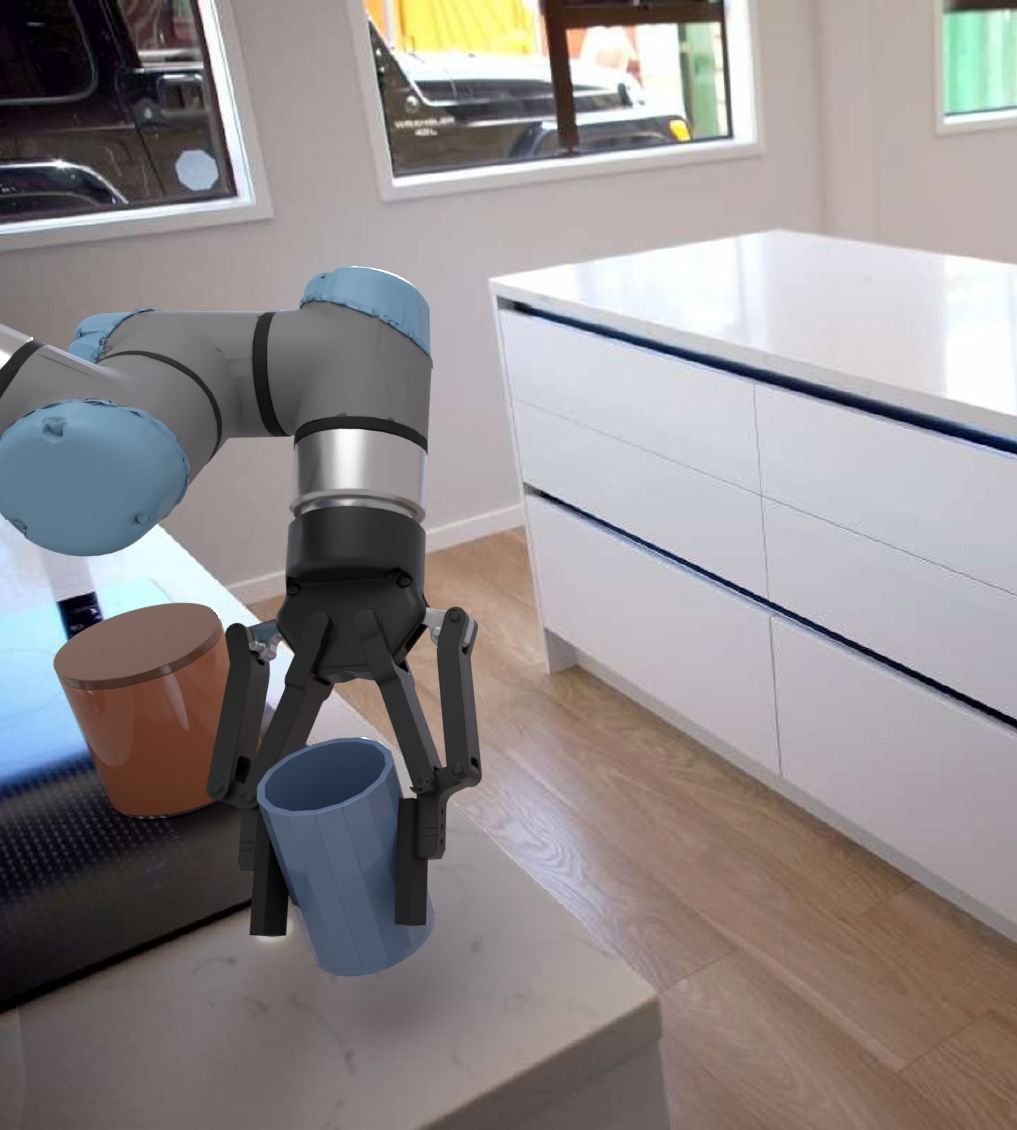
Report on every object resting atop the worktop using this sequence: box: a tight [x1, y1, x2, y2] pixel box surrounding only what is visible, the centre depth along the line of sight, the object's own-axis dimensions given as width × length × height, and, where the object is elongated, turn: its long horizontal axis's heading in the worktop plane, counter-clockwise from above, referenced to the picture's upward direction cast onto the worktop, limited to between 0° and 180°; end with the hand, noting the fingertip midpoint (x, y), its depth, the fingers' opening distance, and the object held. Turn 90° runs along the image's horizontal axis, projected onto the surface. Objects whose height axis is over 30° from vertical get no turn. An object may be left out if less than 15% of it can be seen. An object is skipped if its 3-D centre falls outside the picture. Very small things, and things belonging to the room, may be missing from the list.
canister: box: [52, 602, 263, 816], centre depth 95 cm, size 11×11×12 cm
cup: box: [257, 736, 437, 977], centre depth 70 cm, size 7×7×11 cm
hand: (339, 929), depth 68 cm, fingers closed on cup, 7 cm apart
